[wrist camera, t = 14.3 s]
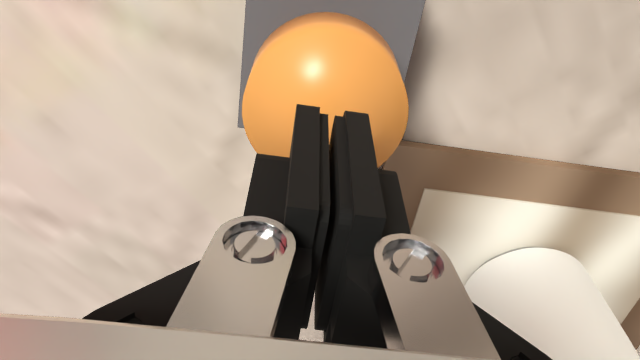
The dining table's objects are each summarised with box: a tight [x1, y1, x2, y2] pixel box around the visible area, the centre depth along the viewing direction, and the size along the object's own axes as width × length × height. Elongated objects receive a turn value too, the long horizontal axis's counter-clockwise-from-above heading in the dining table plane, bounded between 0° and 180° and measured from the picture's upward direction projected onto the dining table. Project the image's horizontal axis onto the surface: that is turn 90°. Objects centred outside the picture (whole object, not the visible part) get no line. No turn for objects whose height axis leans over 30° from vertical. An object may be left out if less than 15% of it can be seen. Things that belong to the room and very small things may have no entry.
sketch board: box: [382, 140, 640, 349], centre depth 27 cm, size 17×15×1 cm
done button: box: [242, 12, 409, 167], centre depth 15 cm, size 5×5×2 cm
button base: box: [238, 0, 425, 128], centre depth 18 cm, size 6×6×3 cm
